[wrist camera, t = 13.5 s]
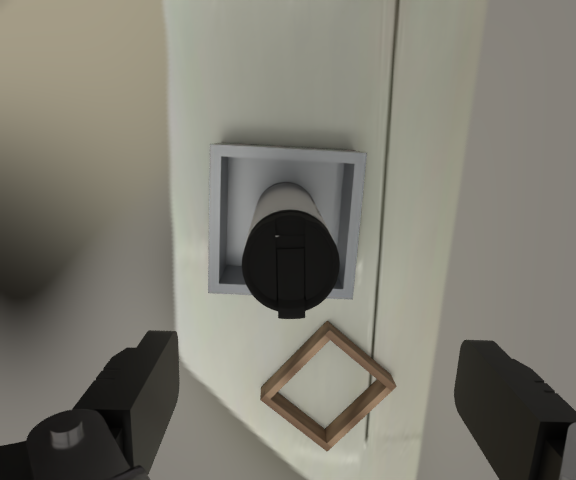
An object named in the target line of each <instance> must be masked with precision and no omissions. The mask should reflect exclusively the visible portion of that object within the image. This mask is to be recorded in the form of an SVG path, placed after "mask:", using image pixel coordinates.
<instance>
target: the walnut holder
mask: <svg viewBox="0 0 576 480" xmlns="http://www.w3.org/2000/svg"><path fill="white" fill-rule="evenodd" d="M329 340H331V341H332V342H333V343H335V344H336V345H337V346H338V347H339V348H341V349H342V350H343V351H344V352H345V353H347V354H348V355H349V356H350V357H351V358H353V359H354V360H355V361H356V362H357V363H359V364H360V365H361V366H362V367H363V368H364V369H366V370H367V371H368V372H369V373H370V374H372V375H373V376H374V377H375V378H376V379H377V380H376V381H375V382H374V383H373V384H372V385H371V386H370V387H369V388H368V389H367V390H366V391H365V392H364V393H362V394H361V395H360V396H359V397H358V398H357V399H356V400H355V401H354V402H353V403H352V404H351V405H350V406H349V407H348V408H347V409H346V410H345V411H344V412H342V413H341V414H340V415H339V416H338V417H337V418H336V419H335V420H334V421H333V422H332V423H331V424H330V425H329V426H328V427H327V428H326V429H324V428H322V427H321V426H320V425H319V424H317V423H316V422H315V421H313V420H312V419H311V418H310V417H308V416H307V415H306V414H305V413H303V412H302V411H301V410H299V409H298V408H297V407H296V406H294V405H293V404H292V403H291V402H289V401H288V400H287V399H286V398H284V397H283V396H282V395H280V394H279V393H278V391H279V390H280V389H281V388H282V387H283V386H284V385H285V384H286V383H287V382H288V381H289V380H290V379H291V378H292V377H293V376H294V375H295V374H296V373H297V372H298V371H299V370H300V369H301V368H302V367H303V366H304V365H305V364H306V363H307V362H308V361H309V360H310V359H311V358H312V357H313V356H314V355H315V354H316V353H317V352H318V351H319V350H320V349H321V348H322V347H323V346H324V345H325V344H326V343H327V342H328V341H329ZM395 388H396V384H395V382H394V380H393V378H392V376H391V374H389V373H388V372H387V371H386V370H385V369H384V368H382V367H381V366H380V365H379V364H378V363H377V362H375V361H374V360H373V359H372V358H371V357H369V356H368V355H367V354H366V353H365V352H364V351H362V350H361V349H360V348H359V347H358V346H356V345H355V344H354V343H353V342H352V341H351V340H349V339H348V338H347V337H346V336H345V335H344V334H342V333H341V332H340V331H339V330H338V329H336V328H335V327H334V326H333V325H332V324H331V323H329V322H328V321H326V322H325V323H324V324H323V325H322V326H321V327H320V329H319V330H318V331H317V332H316V333H315V334H314V335H313V336H312V337H311V338H310V339H309V340H308V341H307V342H306V343H305V344H304V345H303V346H302V347H301V348H300V349H299V350H298V351H297V352H296V353H295V354H294V355H293V356H292V357H291V358H290V359H289V360H288V361H287V362H286V363H285V364H284V365H283V366H282V367H281V368H280V369H279V370H278V371H277V372H276V373H275V374H274V375H273V376H272V377H271V378H270V379H269V380H268V381H267V382H266V383H265V384H264V385H263V386H262V387H261V398H260V400H261V401H263V402H264V403H265V404H266V405H268V406H269V407H270V408H272V409H273V410H274V411H276V412H277V413H278V414H279V415H281V416H282V417H283V418H285V419H286V420H287V421H288V422H290V423H291V424H292V425H294V426H295V427H296V428H297V429H299V430H300V431H301V432H303V433H304V434H305V435H307V436H308V437H309V438H310V439H312V440H313V441H314V442H316V443H317V444H318V445H319V446H321V447H322V448H323V449H325V450H326V451H328V450H329V449H330V448H332V447H333V446H334V445H335V444H336V443H337V442H338V441H339V440H340V439H341V438H342V437H343V436H344V435H345V434H346V433H348V432H349V431H350V430H351V429H352V428H353V427H354V426H355V425H356V424H357V423H358V422H359V421H360V420H361V419H363V418H364V417H365V416H366V415H367V414H368V413H369V412H370V411H371V410H372V409H373V408H374V407H375V406H376V405H377V404H379V403H380V402H381V401H382V400H383V399H384V398H385V397H386V396H387V395H388V394H389V393H390V392H391V391H392V390H393V389H395Z"/></svg>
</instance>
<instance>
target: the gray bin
mask: <svg viewBox="0 0 576 480" xmlns="http://www.w3.org/2000/svg"><path fill="white" fill-rule="evenodd" d="M366 158H367V153H364V152H359V151H354V150H339V149H321V148H303V147H286V146H268V145H250V144H232V143H215V144H210V182H209V266H208V293H217V294H240V295H252V294H251V293H250V291H249V289H248V287H247V286H246V283H245V280H244V278H243V273H242V256H243V252H244V247H245V242H246V239H247V235H248V232H249V229H250V226H251V222H252V219H253V216H254V213H255V209H256V206H257V203H258V200H259V198H260V196H261V195H262V194H263V192H264V191H265V190H266V189H267V188H269V187H270V186H272V185H274V184H277V183H281V182H291V183H295V184H298V185H300V186H301V187H303V188H304V189H305V190H307V192H308V193H309V194H310V195H311V197H312V199H313V201H314V203H315V205H316V206H317V208H318V210H319V212H320V214H321V216H322V218H323V220H324V222H325V223H326V225H327V227H328V229H329V231H330V233H331V235H332V237H333V240H334V242H335V244H336V246H337V250H338V253H339V260H340V269H339V275H338V279H337V282H336V284H335V286H334V288H333V290H332V291H331V293H330V294H329V295H328V296H327V298H331V299H353V291H354V281H355V270H356V260H357V250H358V240H359V229H360V219H361V209H362V199H363V188H364V178H365V168H366Z"/></svg>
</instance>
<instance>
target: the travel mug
mask: <svg viewBox="0 0 576 480" xmlns="http://www.w3.org/2000/svg"><path fill="white" fill-rule="evenodd" d="M339 269H340V260H339V253H338V250H337V246H336V244H335V242H334V240H333V237H332V235H331V233H330V231H329V229H328V227H327V225H326V223H325V222H324V220H323V218H322V216H321V214H320V212H319V210H318V208H317V206H316V205H315V203H314V201H313V199H312V197H311V195H310V194H309V193H308V192H307V190H305V189H304V188H303V187H301V186H300V185H298V184H295V183H291V182H281V183H277V184H274V185H272V186H270V187H269V188H267V189H266V190H265V191H264V192H263V194H262V195H261V196H260V198H259V200H258V203H257V206H256V209H255V213H254V216H253V219H252V222H251V226H250V229H249V232H248V235H247V239H246V242H245V247H244V252H243V256H242V273H243V278H244V280H245V283H246V286H247V287H248V289H249V291H250V293H251V294H252V295H253V296H254V297H255V298H256V299H257V300H258V301H259V302H260V303H262V304H263V305H264V306H266V307H268V308H270V309H273V310H275V311H278V318H281V319H300V318H305V311H306V310H309V309H311V308H313V307H315V306H317V305H319V304H320V303H321V302H322V301H323V300H325V299H326V298H327V296H328V295H329V294H330V293H331V291H332V290H333V288H334V286H335V284H336V282H337V279H338V275H339Z"/></svg>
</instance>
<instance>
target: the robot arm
mask: <svg viewBox="0 0 576 480" xmlns="http://www.w3.org/2000/svg"><path fill="white" fill-rule="evenodd" d="M178 393H179V355H178V336H177V332H176V331H151V330H150V331H148V332H147V333H146V334H145V336H144V337H143V339H142V340H141V342H140V343H139V345H138V346H137V348H126V349H124V350H123V351H121V352H120V353H118V354H116V355H115V356H113V357H112V358H111V359H110V361H109V362H108V363H107V364H106V366H105V367H104V370H103V371H101V372H100V374H99V375H98V376H97V378H96V380H95V381H94V382H93V383H92V384H91V386H90V387H89V388H88V389H87V391H86V392H85V393H84V394H83V396H82V397H81V398H80V400H79V401H78V402H77V404H76V405H75V406H74V408H73V409H72V410H67V411H63V412H60V413H57V414H54V415H52V416H50V417H48V418H46V419H44V420H43V421H41V422H40V423H39V424H37V425H36V426H35V427H34V428H33V429H32V430H31V431H30V433H29V434H28V436H27V440H26V441H23V442H19V443H14V444H8V445H4V446H0V480H150V478H149V477H148V474H149V471H150V469H151V466H152V464H153V461H154V459H155V456H156V454H157V451H158V449H159V446H160V444H161V441H162V439H163V436H164V434H165V431H166V429H167V426H168V424H169V421H170V419H171V416H172V414H173V411H174V409H175V406H176V403H177V398H178ZM454 398H455V405H456V408H457V411H458V413H459V415H460V416H461V418H462V420H463V421H464V423H465V424H466V426H467V428H468V429H469V431H470V433H471V434H472V436H473V437H474V439H475V440H476V442H477V444H478V446H479V447H480V449H481V450H482V452H483V454H484V455H485V457H486V459H487V460H488V462H489V463H490V465H491V467H492V468H493V470H494V471H495V473H496V475H497V476H498V478H499V480H576V411H575V410H574V409H573V408H572V407H571V406H570V405H569V404H568V403H567V402H566V401H565V400H563V399H562V398H561V397H560V396H559V395H558V394H557V393H555V392H554V390H553V389H552V388H551V387H550V386H549V385H548V384H547V383H544V380H543V379H542V378H541V377H540V376H538V375H537V374H536V373H535V372H534V371H533V370H532V369H531V368H529V367H527V366H525V365H524V364H522V363H520V362H518V361H517V360H515V359H511V358H510V357H509V356H508V355H507V354H506V353H505V352H504V351H503V350H502V349H501V348H500V347H499V346H498V345H497V344H496V343H495V342H494V341H487V340H485V341H484V340H464V341H463V343H462V345H461V348H460V355H459V361H458V368H457V375H456V381H455V389H454Z"/></svg>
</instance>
